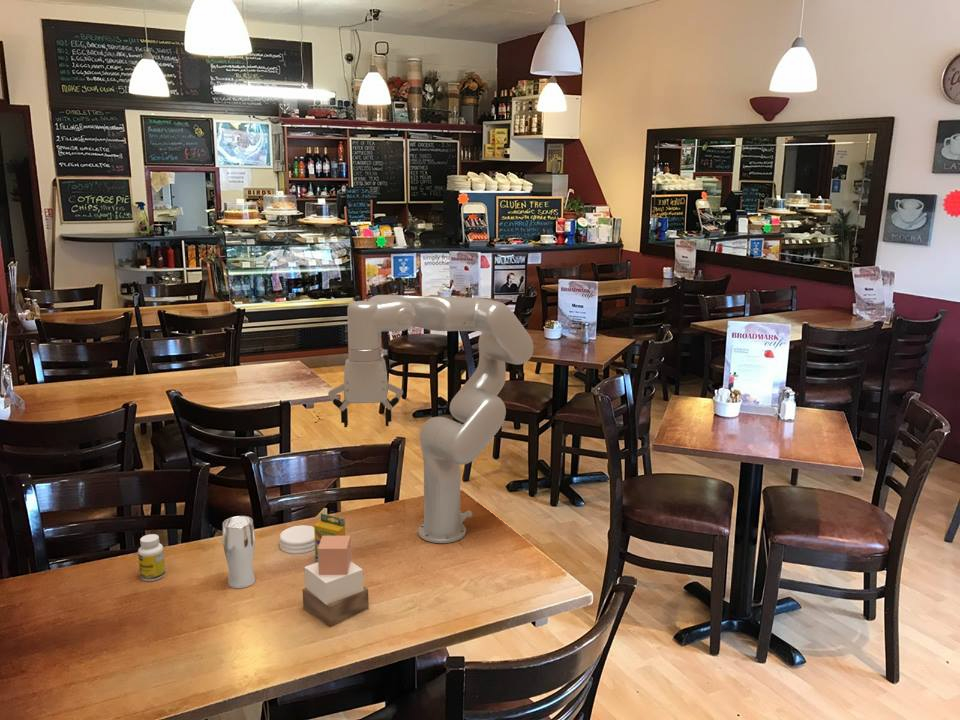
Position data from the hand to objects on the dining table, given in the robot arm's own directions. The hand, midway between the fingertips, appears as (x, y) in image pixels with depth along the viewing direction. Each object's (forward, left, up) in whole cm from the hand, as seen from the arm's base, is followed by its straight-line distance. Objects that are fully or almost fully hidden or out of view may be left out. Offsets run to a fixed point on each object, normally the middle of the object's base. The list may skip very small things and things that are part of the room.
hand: (366, 425), depth 182 cm
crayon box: (+8, -5, -34) cm, 36 cm away
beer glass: (+28, -12, -34) cm, 46 cm away
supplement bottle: (+41, -29, -34) cm, 61 cm away
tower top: (+20, +13, -30) cm, 38 cm away
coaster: (+8, -18, -35) cm, 40 cm away
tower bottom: (+20, +13, -35) cm, 42 cm away
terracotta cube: (+20, +13, -25) cm, 34 cm away
